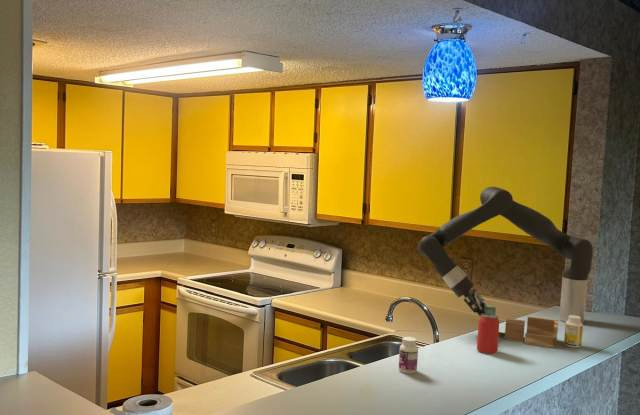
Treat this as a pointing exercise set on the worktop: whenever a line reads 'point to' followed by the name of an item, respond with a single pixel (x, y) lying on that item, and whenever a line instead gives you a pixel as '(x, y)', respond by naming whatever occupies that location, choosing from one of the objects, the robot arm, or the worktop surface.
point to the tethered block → (509, 326)
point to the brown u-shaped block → (541, 332)
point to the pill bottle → (408, 355)
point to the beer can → (488, 333)
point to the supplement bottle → (573, 332)
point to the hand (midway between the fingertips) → (488, 316)
